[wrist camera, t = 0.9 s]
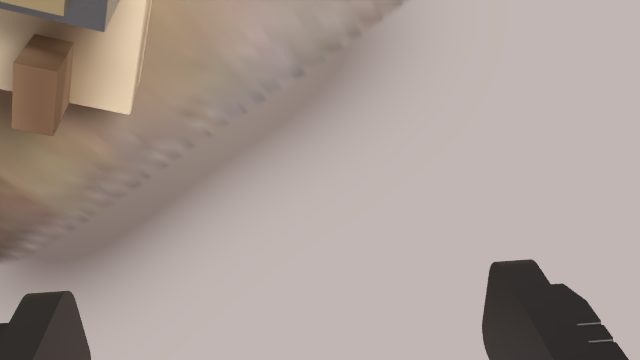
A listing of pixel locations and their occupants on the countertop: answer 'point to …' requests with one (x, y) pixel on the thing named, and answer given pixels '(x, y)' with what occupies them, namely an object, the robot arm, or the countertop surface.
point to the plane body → (71, 64)
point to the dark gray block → (67, 11)
